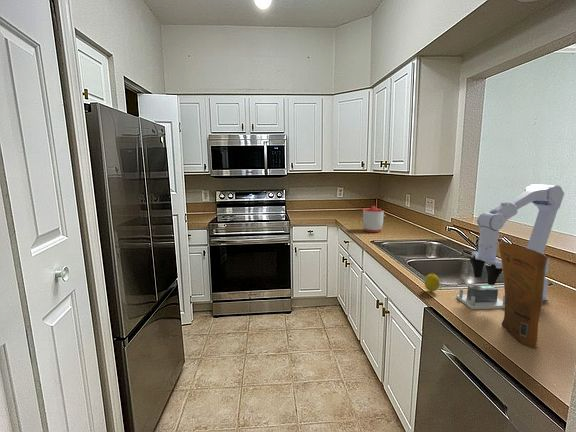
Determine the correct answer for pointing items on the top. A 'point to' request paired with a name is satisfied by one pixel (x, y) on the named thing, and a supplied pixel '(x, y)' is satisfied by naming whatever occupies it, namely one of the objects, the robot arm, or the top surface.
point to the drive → (482, 293)
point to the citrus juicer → (373, 219)
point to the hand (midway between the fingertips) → (484, 280)
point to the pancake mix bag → (522, 291)
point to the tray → (482, 304)
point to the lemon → (432, 282)
